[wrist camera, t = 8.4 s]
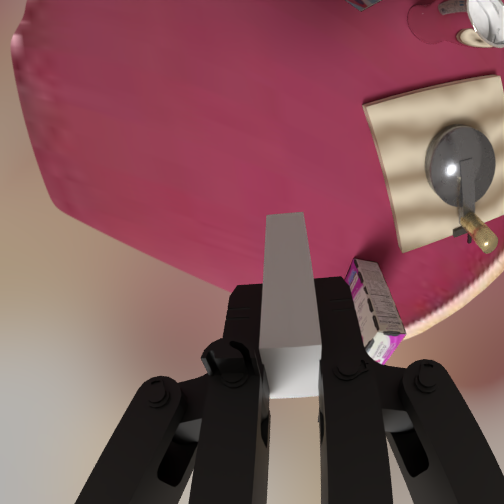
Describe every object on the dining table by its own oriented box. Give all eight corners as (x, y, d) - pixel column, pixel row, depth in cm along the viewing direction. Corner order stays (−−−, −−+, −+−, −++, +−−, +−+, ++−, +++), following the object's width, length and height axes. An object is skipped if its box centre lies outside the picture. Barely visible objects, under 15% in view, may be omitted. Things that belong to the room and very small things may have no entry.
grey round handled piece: (418, 132, 33) (452, 153, 26) (482, 118, 30) (522, 136, 22) (432, 242, 42) (455, 278, 35) (487, 223, 39) (515, 254, 32)
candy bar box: (357, 307, 54) (373, 380, 41) (333, 304, 54) (344, 379, 41) (379, 260, 48) (408, 335, 35) (353, 256, 48) (376, 332, 34)
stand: (361, 104, 34) (367, 107, 32) (492, 74, 27) (502, 76, 25) (398, 246, 46) (404, 256, 44) (506, 206, 39) (513, 213, 37)
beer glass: (446, 11, 24) (513, 3, 11) (446, 53, 27) (514, 60, 15) (403, -5, 24) (462, -26, 12) (403, 39, 28) (464, 34, 16)
